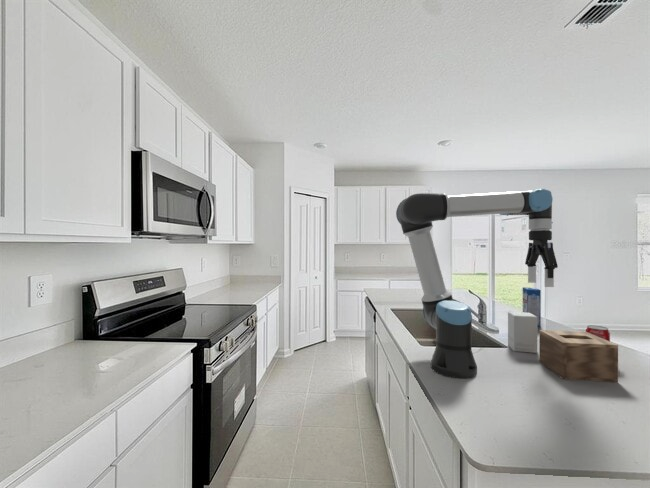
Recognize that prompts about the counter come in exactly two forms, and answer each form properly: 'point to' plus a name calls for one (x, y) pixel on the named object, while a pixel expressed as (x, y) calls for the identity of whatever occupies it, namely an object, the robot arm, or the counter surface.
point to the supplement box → (522, 332)
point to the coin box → (578, 355)
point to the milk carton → (532, 302)
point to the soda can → (599, 331)
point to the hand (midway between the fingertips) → (540, 284)
